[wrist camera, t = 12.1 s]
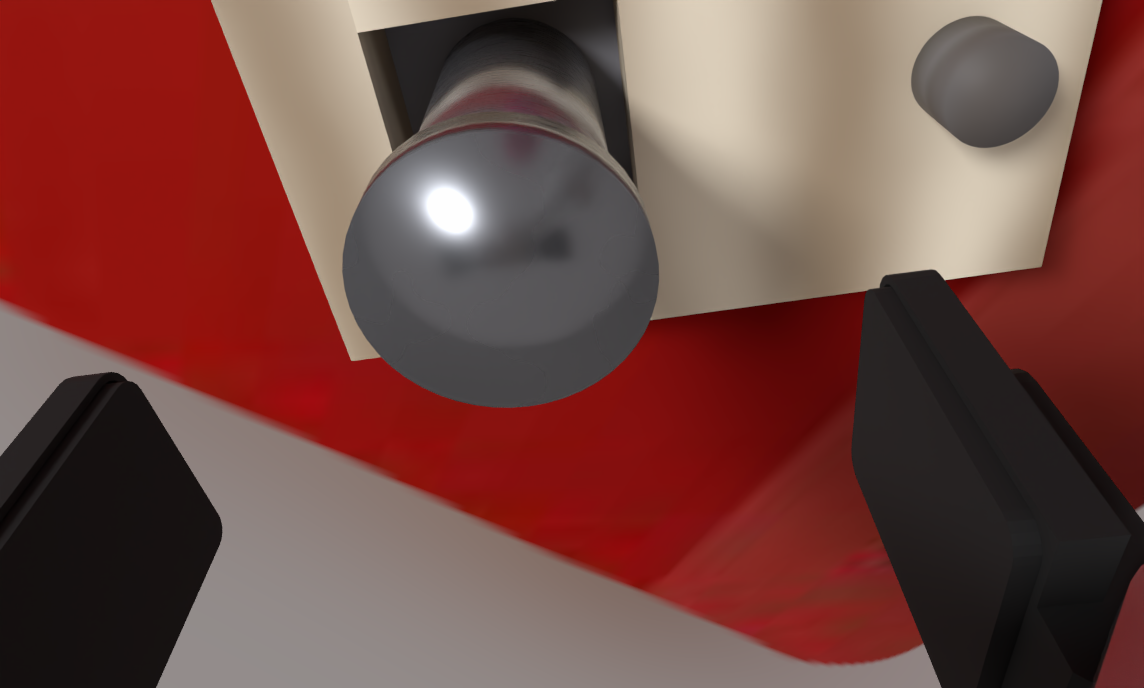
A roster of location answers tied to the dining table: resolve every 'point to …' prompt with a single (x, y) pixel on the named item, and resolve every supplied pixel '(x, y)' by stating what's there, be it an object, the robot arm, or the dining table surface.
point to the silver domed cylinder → (504, 231)
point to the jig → (717, 127)
